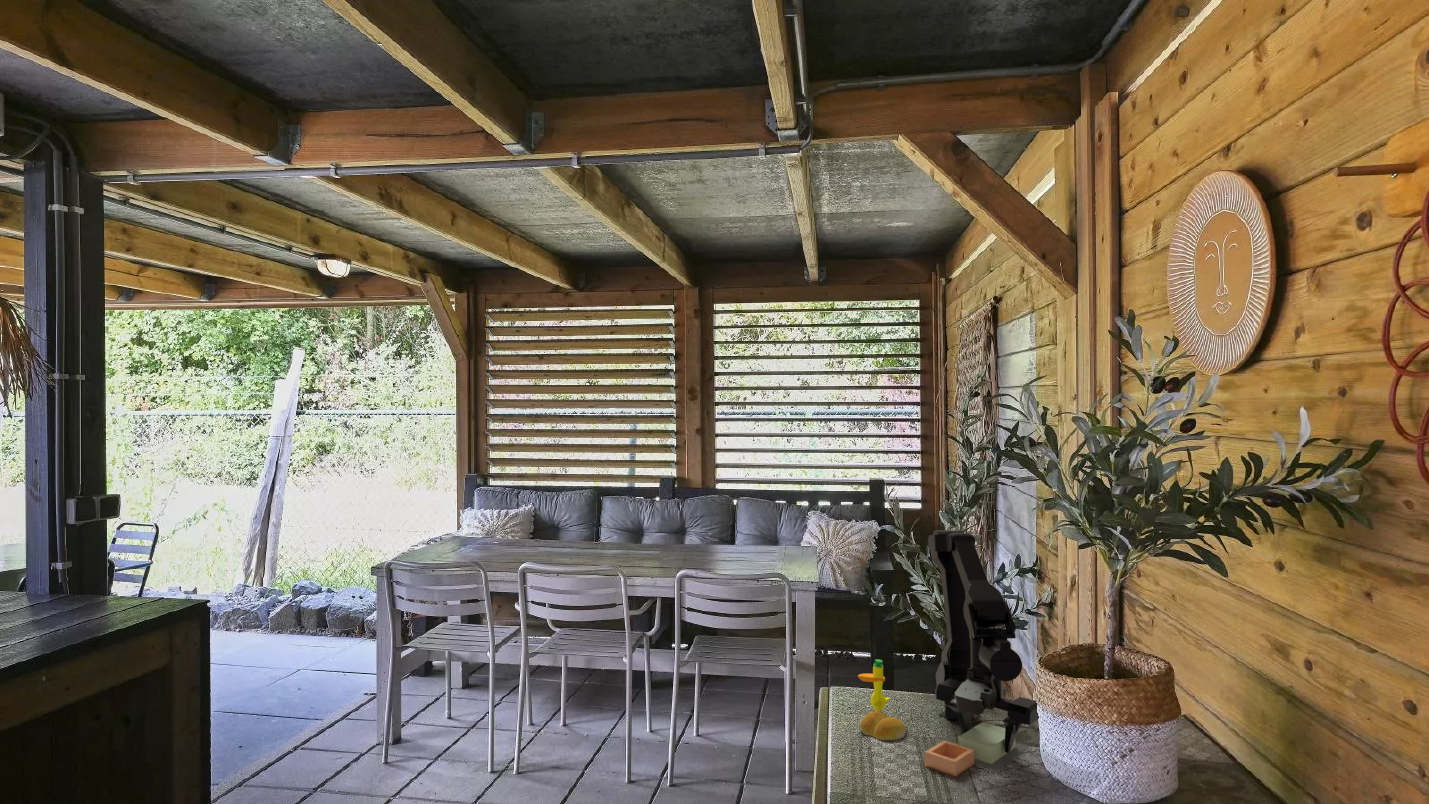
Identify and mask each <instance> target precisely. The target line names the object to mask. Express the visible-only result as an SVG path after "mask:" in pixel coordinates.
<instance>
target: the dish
mask: <svg viewBox="0 0 1429 804" xmlns="http://www.w3.org/2000/svg"><path fill="white" fill-rule="evenodd" d="M974 765H975V764H974V750H973V749H970V748H967V747H964V746H961V745H958V743H954V742H952V741H951V742H950V741H948V740H945V739H944V740H942V741H940V742H939V743H937V744H936V745H934V746H932V747H930V748H928V749H927V750H925V751H924V766H925V767H927V768H929V769H933V770H936V771H938V772H941V773H944V774H946V775H950V776H953V777H957V776H959V775H960V774H962V773H963V772H965V771H966V770H968V769H969V768H971V767H972V766H974Z"/></svg>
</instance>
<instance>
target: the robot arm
mask: <svg viewBox="0 0 1429 804" xmlns="http://www.w3.org/2000/svg"><path fill="white" fill-rule="evenodd" d="M927 545H928V550H929V552H930V553H931V554H930V555H931V560H932V562H933V563H934V564H935V566H936V567H937V568H938V570H939V571H940V575H941V585H942V597H943V605H944V616H945V617H944V618H945V625H946V635H947V642H946V644H945V646H944V648H943V650H942V652H941V661H940V663H939V665H938V668H937V670H936V673H935V683H936V687H935V689H934V691H935V693H934V695H935V697H934V698H935V700H939V701H941V702H944V711H942V712H940V713H939V714H938V717H941V718H944V719H948V720H951V721H954V722H956V723H957V722H958V724H959V726H960V730H961V732H962V734H964V733H966V732H967V731H969V730H971V729H972V722H973V721H974V720H976V719H978V718H980V717H981V715H982V714H983V713H984V710H986V709H987V710H990V711H993V709H998V710H1002V711H1006V712H1007V713H1006V714H1007V717H1006V718H1004V719H1002V722H1003V724H1004V726H1005V752H1006V753H1008V752H1009V751H1010V749H1011V747H1012V745H1013V742H1014V740H1015V741H1016V738H1017V735H1018V733H1019V731H1020V729H1021V727H1022V726H1023V725H1031V724H1033V723H1035V722H1036V721H1037V720H1039V719H1040V718H1039V716H1038V713H1037V703H1036V701H1037V700H1034V699H1030V698H1026V697H1023V696H1018V697H1017V698H1016V699H1013V700H1009V699H1005V698H1003V697H1004V696H1006V693H1007V689H1005V688H1004V685H1003V684H1004V682H1009V681H1013V680H1016V678H1018V677H1019V675H1020V674H1021V673H1022V670H1023V662H1022V658H1021V657H1020V655H1019V654H1018V652H1016V651H1015V650H1014V649H1012V644H1011V641H1009V640H1008V639H1016V629H1017V627H1016V624H1015V621H1014V617H1013V615H1012V612H1011V609H1010V606H1009V604H1008V603H1007V602H1006V601H1005V598H1004V597H1003V595H1002V593H1001V590H1000V589H998V588H996V587H995V586H993V585H992V584H991V583H990V581H989V580H988V577H987V574H986V572H985V569H984V566H983V564H982V561H981V558H980V556H979V553H978V549H977V548H976V539H975V535H974V534H971V533H969V532H965V531H964V530H963V529H954V530H953V529H952V530H951V529H949V530H948V529H945V530H944V529H941V530H939V529H938V530H936V529H935V530H933V533H932V535H931V534H930V535H928V538H927ZM1003 627H1005V628H1003Z"/></svg>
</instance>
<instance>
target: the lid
mask: <svg viewBox="0 0 1429 804" xmlns="http://www.w3.org/2000/svg"><path fill="white" fill-rule="evenodd" d="M957 741H958V742H957V744H958V745H961V746H964V747H967V748H970V749H973V750H974V759H977V760H981V761H984V762H987V763H990V764H992V763H994V762H995V761H997V760H998V759H999V758H1001V757H1002V756H1004V755H1005V754H1007V753H1006V752H1005V728H1004V727H1001V726H999V725H995V724H991V723H988V722H984V721H982V722H981V723H979V724H978V725H975V726H974V727H971V730H969V731H967V732H966V733H964V734H963V733H962V734H961V735H959V736H958V738H957ZM1016 743H1017V742H1016V739H1015V740H1014V742H1013V745H1012V747H1011V749H1010V751H1011V750H1012V749H1014V748H1015V747H1016Z"/></svg>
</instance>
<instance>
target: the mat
mask: <svg viewBox="0 0 1429 804" xmlns="http://www.w3.org/2000/svg"><path fill="white" fill-rule="evenodd" d="M1029 748H1030V746H1028V745H1023V744H1022V743H1017V742H1016V747H1015V748H1014V749H1012V750H1011V751H1009V752H1008V753H1007V754H1005V755H1004V756H1002V757H1001V758H999V759H998V760H997V761H995V762H994V763H992V764H990V763H987V762H984V761H981V760H977V759H974V765H977V766H980V767H982V768H986V769H988V770H992V771H994V772H996V771H998V770H999V769H1001V768H1002V767H1004V766H1005V765H1006V764H1008V763H1009V762H1011V761H1012V760H1013V759H1015V758H1016V757H1017V756H1019V755H1021V753H1023V752H1024V751H1026V750H1027V749H1029Z"/></svg>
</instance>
